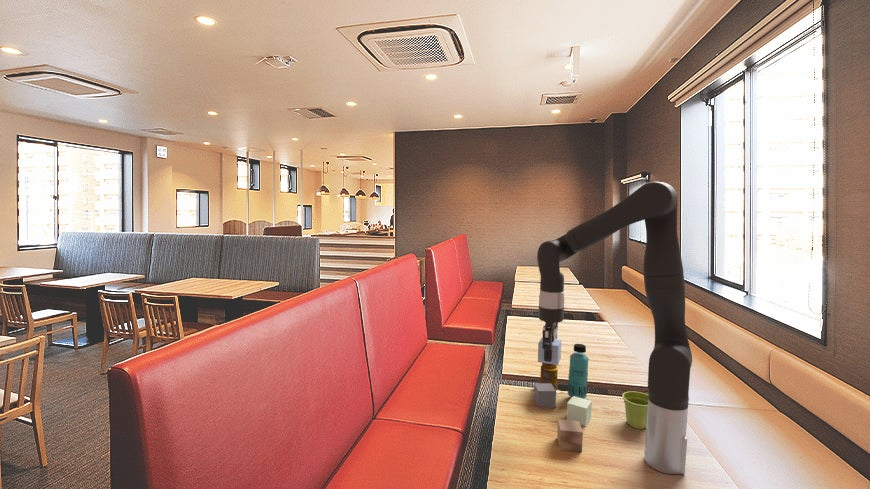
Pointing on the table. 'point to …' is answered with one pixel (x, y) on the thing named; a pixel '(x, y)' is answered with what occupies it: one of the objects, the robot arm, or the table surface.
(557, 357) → the slate blue block
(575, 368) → the beverage bottle
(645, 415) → the plant pot
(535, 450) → the table surface
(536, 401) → the charcoal block
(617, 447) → the table surface
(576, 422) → the walnut block
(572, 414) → the sage block
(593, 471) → the table surface
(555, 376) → the condiment
